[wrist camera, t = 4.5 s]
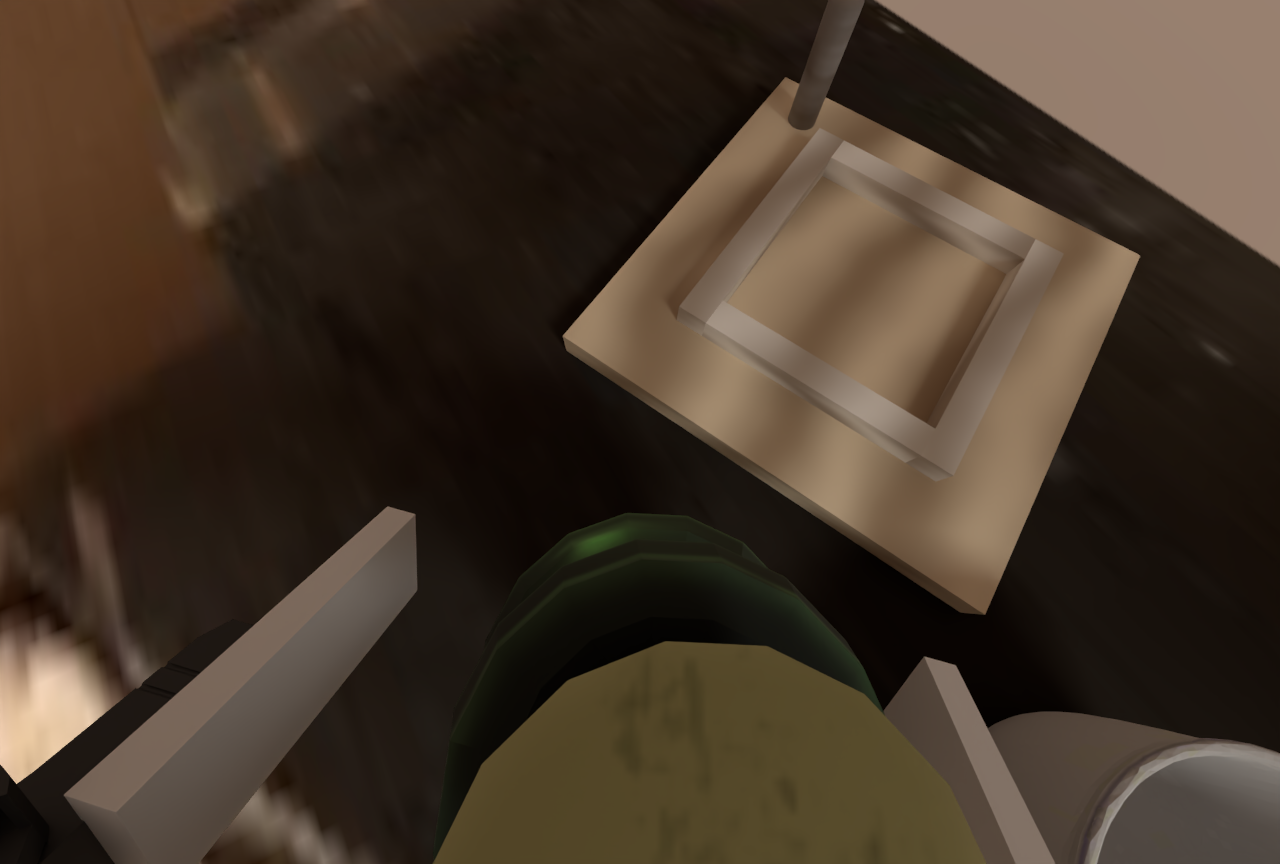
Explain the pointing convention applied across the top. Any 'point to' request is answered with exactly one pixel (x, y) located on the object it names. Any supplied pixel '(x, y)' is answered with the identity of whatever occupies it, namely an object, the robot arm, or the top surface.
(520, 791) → the potion bottle
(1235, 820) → the teacup
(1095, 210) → the top surface
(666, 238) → the locating board
